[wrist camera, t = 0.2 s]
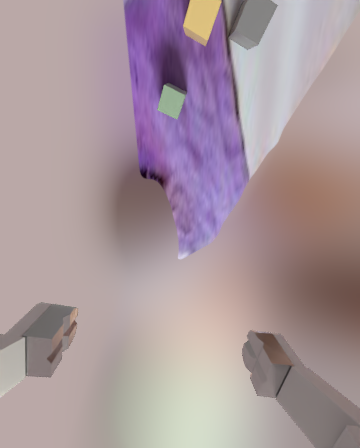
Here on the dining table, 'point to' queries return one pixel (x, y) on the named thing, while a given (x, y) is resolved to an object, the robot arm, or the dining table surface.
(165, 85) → the sage green brick
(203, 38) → the mustard brick
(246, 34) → the charcoal brick
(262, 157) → the dining table surface
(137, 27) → the dining table surface
